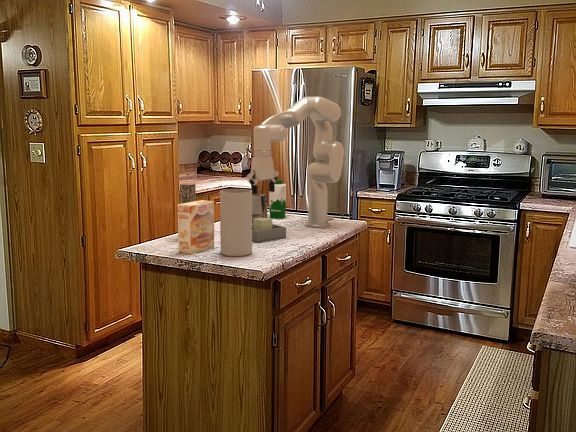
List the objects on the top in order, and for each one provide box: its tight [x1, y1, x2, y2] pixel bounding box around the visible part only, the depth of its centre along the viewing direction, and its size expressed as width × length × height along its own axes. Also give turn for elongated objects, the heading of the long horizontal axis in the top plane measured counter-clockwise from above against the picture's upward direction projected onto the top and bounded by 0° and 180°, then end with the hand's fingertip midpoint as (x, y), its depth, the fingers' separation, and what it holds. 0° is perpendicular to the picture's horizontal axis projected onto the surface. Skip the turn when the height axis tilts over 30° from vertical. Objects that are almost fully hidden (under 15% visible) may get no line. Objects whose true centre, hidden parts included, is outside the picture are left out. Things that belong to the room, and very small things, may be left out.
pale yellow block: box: [253, 217, 273, 231], centre depth 255 cm, size 6×6×8 cm
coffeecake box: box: [176, 199, 215, 255], centre depth 231 cm, size 15×7×20 cm, turn 148°
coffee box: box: [252, 193, 269, 225], centre depth 278 cm, size 9×6×16 cm
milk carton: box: [268, 179, 287, 220], centre depth 306 cm, size 9×9×20 cm
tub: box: [252, 223, 287, 244], centre depth 255 cm, size 16×13×5 cm
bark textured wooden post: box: [179, 181, 197, 204], centre depth 252 cm, size 7×7×25 cm
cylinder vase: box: [219, 188, 253, 258], centre depth 225 cm, size 12×12×25 cm
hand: (263, 192), depth 253 cm, fingers open, 9 cm apart
